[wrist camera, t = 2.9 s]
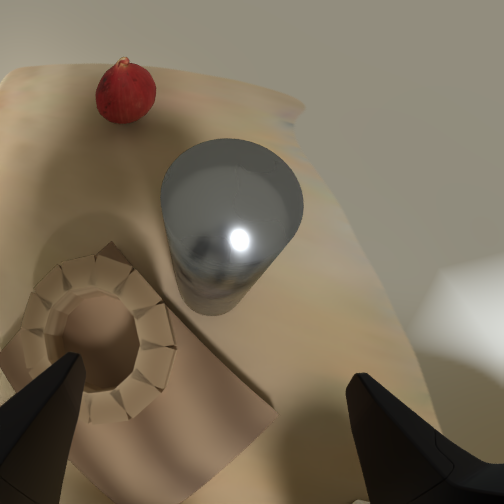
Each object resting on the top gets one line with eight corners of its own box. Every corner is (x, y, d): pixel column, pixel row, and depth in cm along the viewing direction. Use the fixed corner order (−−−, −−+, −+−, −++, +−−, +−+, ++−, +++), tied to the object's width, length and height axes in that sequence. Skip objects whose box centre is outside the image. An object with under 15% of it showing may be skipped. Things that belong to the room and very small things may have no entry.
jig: (148, 519, 14) (141, 545, 10) (2, 358, 16) (-26, 356, 12) (275, 411, 19) (293, 423, 16) (115, 246, 21) (101, 224, 17)
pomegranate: (108, 148, 24) (90, 86, 17) (99, 113, 25) (86, 54, 18) (164, 129, 26) (161, 65, 19) (150, 96, 27) (146, 37, 20)
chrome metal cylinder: (211, 329, 21) (233, 295, 9) (164, 281, 21) (132, 188, 9) (257, 284, 23) (329, 201, 11) (212, 239, 23) (235, 120, 11)
